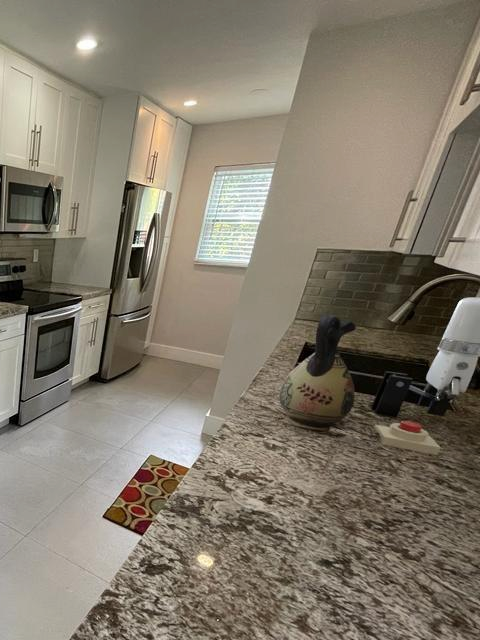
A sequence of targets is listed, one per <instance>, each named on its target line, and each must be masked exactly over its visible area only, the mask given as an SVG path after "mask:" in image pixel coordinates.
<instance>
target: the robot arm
mask: <svg viewBox="0 0 480 640" xmlns="http://www.w3.org/2000/svg"><path fill="white" fill-rule="evenodd" d="M436 350H438V352H437V354H436V356H435V358H434V359H433V361H432V363H431V365H430V367H429V369H428V372H427V373H426V377H425V380H426V381H427V382H426V385H425V387H424V388H423V391H425V392H427V393H429V394H432V395H433V394H436V397H435V400H432V399H430V398H427V397H425V396H423V395H420V398H419V400H418V403H417V405H418V406H419V407H424V408H427V410H426V413H427V414H428V415H432V416H438V417H444V416H445V415H446V413H447V411H448V409H449V407H450V405H451V404H452V402H453V400H455V398H456V397H458V396H459V394H464V393H466V391H467V389H468V387H469V384H470V382H471V380H472V377H473V375H474V373H475V369H476V367H477V363H478V359H479V357H480V297H464V298H462V299H461V300H460V301H459V302H458V303H457V306H456V307H455V309H454V311H453V314H452V316H451V318H450V321H449V322H448V324H447V326H446V329H445V331H444V333H443V335H442V338H441V340H440V342H439V344H438V346H437V348H436ZM442 393H443V394H442Z"/></svg>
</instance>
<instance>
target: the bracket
mask: <svg viewBox="0 0 480 640" xmlns="http://www.w3.org/2000/svg"><path fill="white" fill-rule="evenodd" d="M393 374H394V375H396V376H392V375H393ZM387 380H388V382H387ZM413 381H414V379H413V378H412V377H408V373H401V372H395V371H394V372H393V371H384V374H383V377H382V379H381V381H380V383H379V387H378V389H377V391H376V394H375V396H374V399H373V401H372V404H371V406H370V409H372V410H375V411H374V414H375V415H380V416H386V417H391V418H397V417H398V415H399V413H400V410H401V408H402V406H403V403H404V402H405V399H406V397H407V394H408V392H409V390H410V389H409V388H410V385H411V386H412V383H413Z"/></svg>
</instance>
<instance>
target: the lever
mask: <svg viewBox="0 0 480 640" xmlns="http://www.w3.org/2000/svg"><path fill="white" fill-rule="evenodd" d="M392 376H396V375H394V374H393V375H392ZM387 382H388V380H387ZM409 390H410V391H412V392H414V393H416V394H419V395H420V396H422V395H423V396H425V397H427V398H430V399H432V400H435V397H436V394H433V395H432V394H429V393H427V392H425V391H424V389H423V390H422V389H421V388H418V387H416V386H413V385H412V384H411V385H410V388H409Z"/></svg>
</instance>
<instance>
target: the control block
mask: <svg viewBox="0 0 480 640" xmlns="http://www.w3.org/2000/svg"><path fill="white" fill-rule="evenodd" d="M400 423H401V422H400ZM400 423H399V422H393V423H391V424H390V425H389V426H385V425H380V424H374V426H373V428H374V429H375V431H376V432H377V433H378V434H379V435H376V434H375V435H374V436H375V437H376V439H377V440H378V442H379V444H380V445H383V446H384V445H385V446H389V447H394V448H398V449H404V450H409V451H414V452H418V453H423V454H429V455H433V456H438V455H439V453H440V451H441V449H442V448H441V446H440V445H439V444H438V443H437V442H436V441H435V440H434V439H433V437H431V436H430V434H429V432H428V431H427V430H425V429H422V428H421V430H420V432H419V433H413V432H408V431H405V430H402V429H400V428H399V426H400Z"/></svg>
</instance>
